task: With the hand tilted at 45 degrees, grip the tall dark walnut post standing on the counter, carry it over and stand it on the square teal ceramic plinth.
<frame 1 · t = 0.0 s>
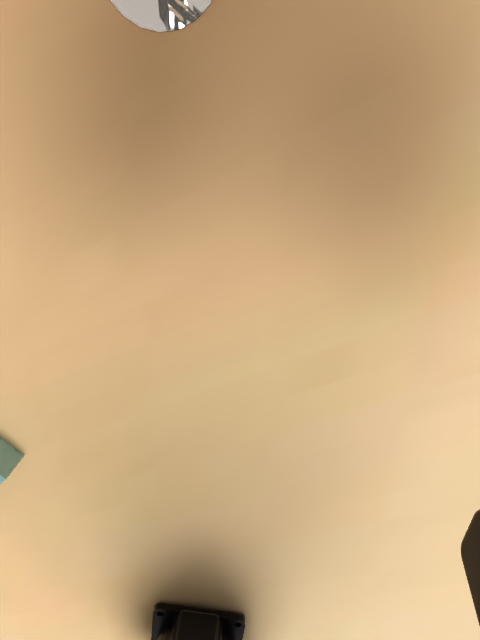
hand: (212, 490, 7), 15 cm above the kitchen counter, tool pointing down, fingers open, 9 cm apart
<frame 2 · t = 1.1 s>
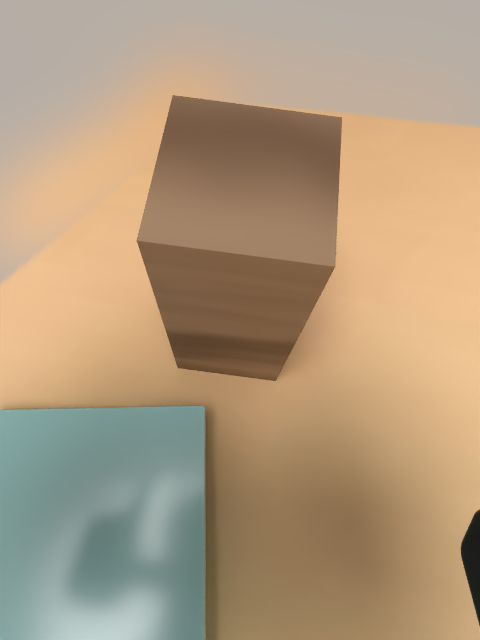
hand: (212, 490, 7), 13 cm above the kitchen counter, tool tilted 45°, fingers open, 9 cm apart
walnut post: (233, 328, 23), on the kitchen counter
ceramic plinth: (94, 528, 19), on the kitchen counter
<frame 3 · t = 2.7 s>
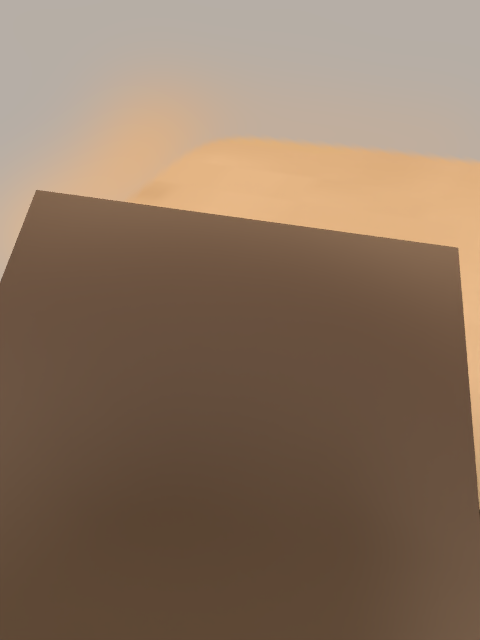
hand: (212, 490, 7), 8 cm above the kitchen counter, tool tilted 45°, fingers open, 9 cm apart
walnut post: (216, 482, 15), on the kitchen counter
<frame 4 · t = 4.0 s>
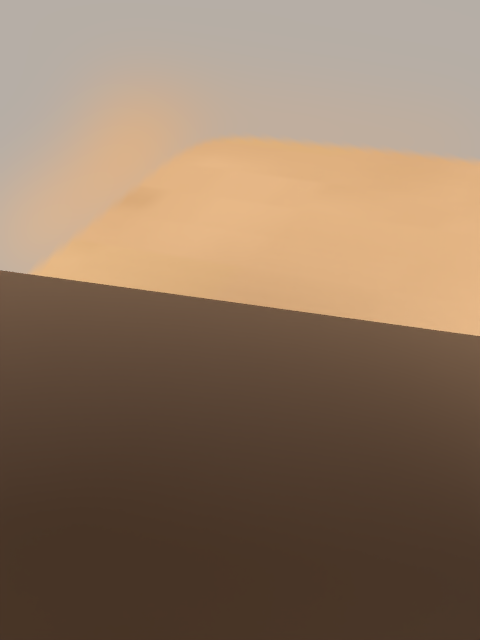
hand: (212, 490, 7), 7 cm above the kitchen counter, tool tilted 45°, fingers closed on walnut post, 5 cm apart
walnut post: (207, 541, 13), on the kitchen counter, touching gripper
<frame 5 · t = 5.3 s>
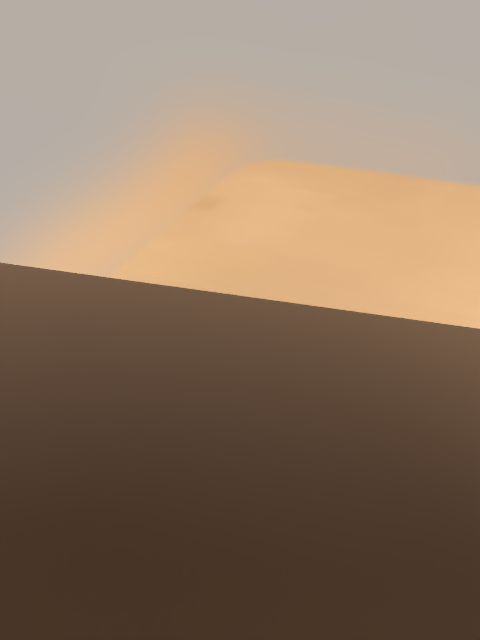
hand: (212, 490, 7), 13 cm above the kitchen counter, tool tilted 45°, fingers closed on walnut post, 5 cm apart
walnut post: (208, 540, 13), point 7 cm above the kitchen counter, touching gripper
when the fingers open (10 cm above the kitchen counter, at t = 6.8 s): walnut post drops 2 cm, point 2 cm above the kitchen counter.
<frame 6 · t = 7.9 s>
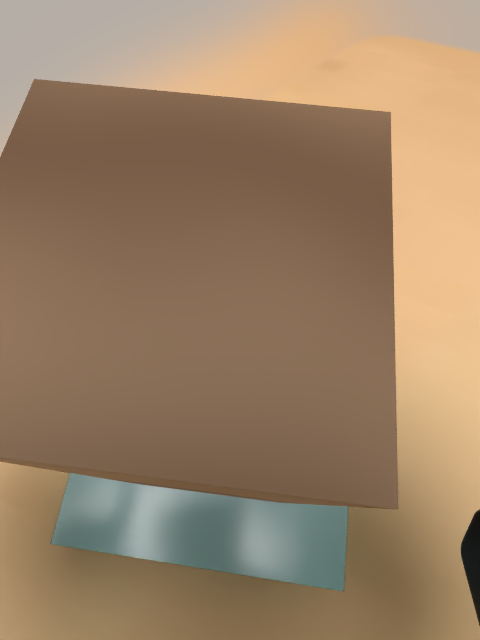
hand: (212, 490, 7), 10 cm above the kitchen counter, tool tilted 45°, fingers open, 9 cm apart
walnut post: (218, 421, 16), point 2 cm above the kitchen counter
ceramic plinth: (220, 427, 19), on the kitchen counter
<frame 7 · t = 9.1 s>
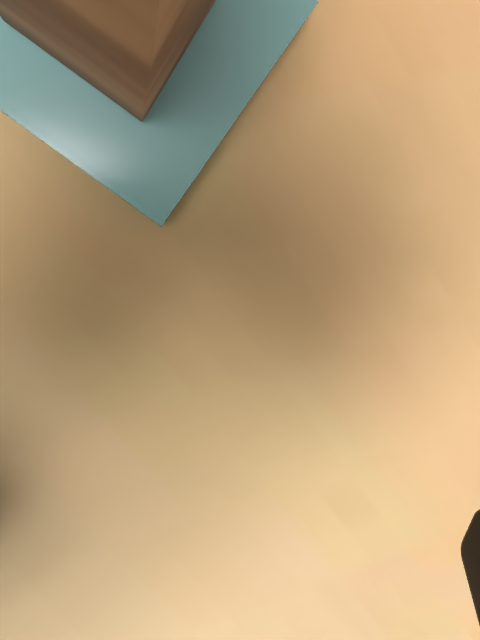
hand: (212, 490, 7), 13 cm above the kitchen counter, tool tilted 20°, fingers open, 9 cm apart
walnut post: (115, 8, 14), point 2 cm above the kitchen counter, touching ceramic plinth
ceramic plinth: (124, 40, 17), on the kitchen counter, touching walnut post
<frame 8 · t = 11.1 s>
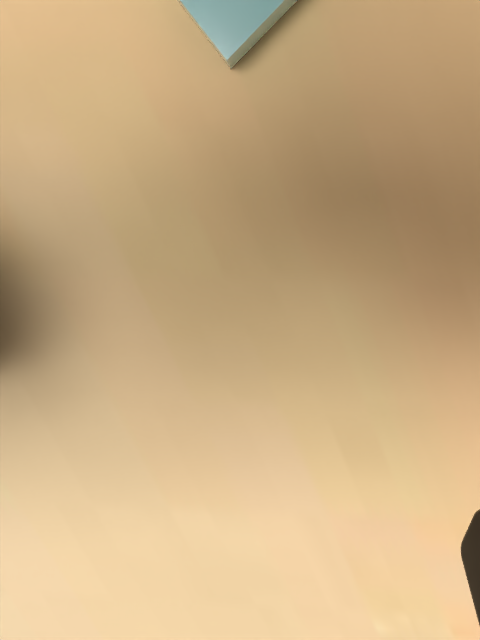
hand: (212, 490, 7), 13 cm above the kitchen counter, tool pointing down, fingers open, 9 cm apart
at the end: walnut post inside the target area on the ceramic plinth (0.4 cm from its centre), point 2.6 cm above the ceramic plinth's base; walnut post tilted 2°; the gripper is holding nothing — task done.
